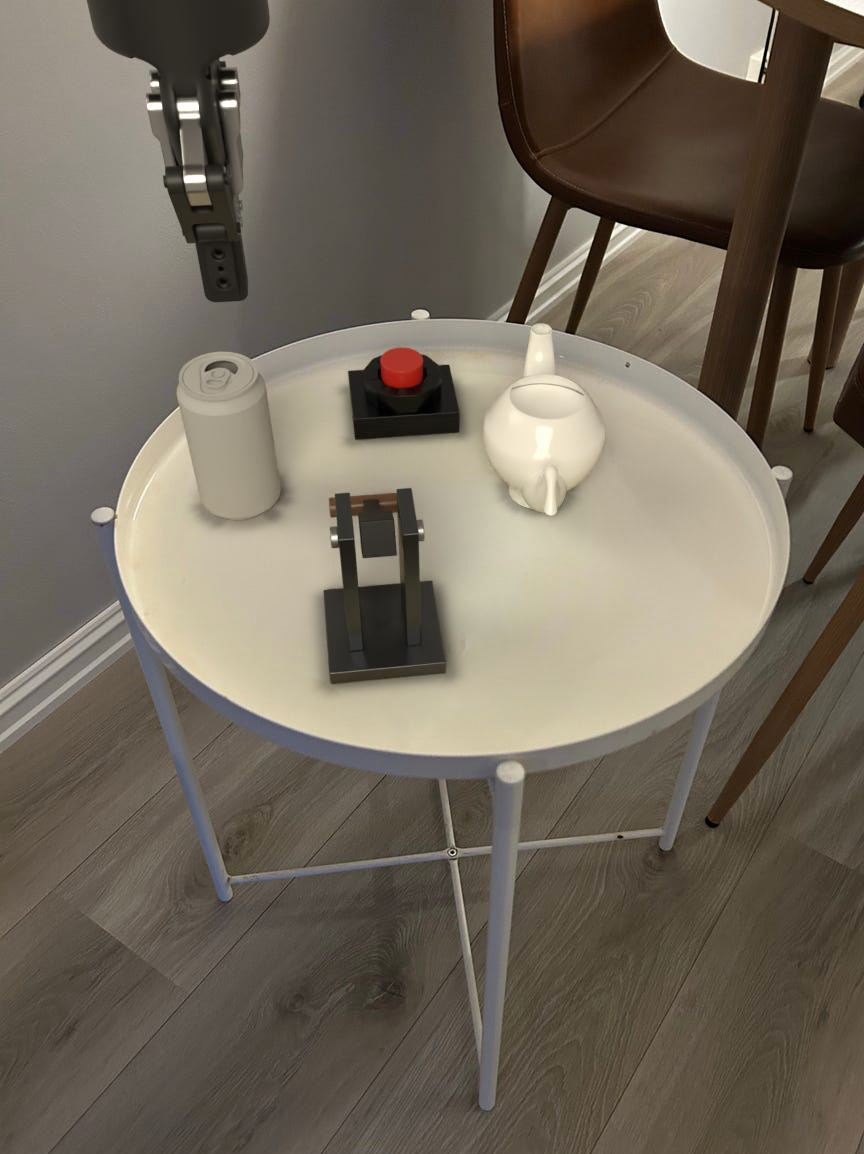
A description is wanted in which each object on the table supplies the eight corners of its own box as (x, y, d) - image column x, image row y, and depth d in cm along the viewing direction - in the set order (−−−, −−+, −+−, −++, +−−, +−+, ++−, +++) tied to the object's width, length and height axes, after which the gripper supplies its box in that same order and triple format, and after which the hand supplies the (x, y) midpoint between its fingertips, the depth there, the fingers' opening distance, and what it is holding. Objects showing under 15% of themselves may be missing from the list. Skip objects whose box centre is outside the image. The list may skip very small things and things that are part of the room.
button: (383, 390, 90) (382, 373, 89) (379, 366, 92) (378, 348, 91) (425, 388, 90) (425, 370, 89) (421, 363, 93) (420, 346, 91)
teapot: (480, 576, 81) (484, 481, 74) (479, 414, 94) (482, 321, 87) (607, 578, 81) (622, 484, 74) (588, 416, 94) (599, 323, 87)
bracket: (324, 600, 79) (309, 476, 70) (432, 591, 80) (431, 467, 71) (330, 684, 74) (315, 562, 65) (445, 673, 75) (446, 551, 66)
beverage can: (289, 476, 88) (272, 350, 79) (271, 529, 84) (251, 403, 75) (213, 469, 88) (187, 343, 79) (191, 522, 84) (161, 395, 75)
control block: (354, 440, 91) (351, 401, 88) (349, 391, 96) (346, 352, 93) (459, 432, 92) (460, 394, 89) (449, 384, 97) (449, 346, 94)
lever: (330, 521, 78) (327, 489, 77) (412, 515, 79) (410, 483, 78) (332, 561, 68) (328, 524, 67) (426, 553, 69) (424, 516, 68)
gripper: (83, -137, 47) (160, 235, 60) (48, -36, 38) (147, 372, 52) (256, -138, 48) (295, 228, 61) (259, -39, 39) (304, 363, 52)
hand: (227, 294), depth 56 cm, fingers closed
